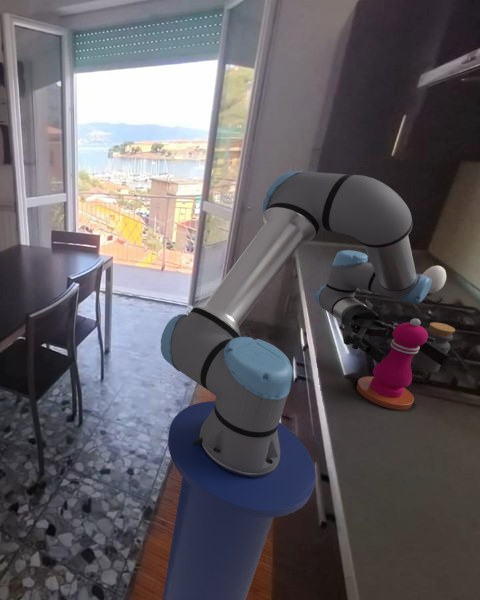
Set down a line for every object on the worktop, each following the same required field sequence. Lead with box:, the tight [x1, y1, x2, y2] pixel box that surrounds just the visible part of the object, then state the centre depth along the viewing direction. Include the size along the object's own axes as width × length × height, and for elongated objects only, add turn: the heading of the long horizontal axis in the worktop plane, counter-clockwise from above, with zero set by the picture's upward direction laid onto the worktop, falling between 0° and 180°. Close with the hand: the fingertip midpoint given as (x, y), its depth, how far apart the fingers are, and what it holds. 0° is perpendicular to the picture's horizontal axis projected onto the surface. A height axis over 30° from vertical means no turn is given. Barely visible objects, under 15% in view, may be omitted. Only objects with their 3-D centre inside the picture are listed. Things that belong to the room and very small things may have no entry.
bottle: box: [411, 321, 456, 373], centre depth 93 cm, size 6×6×15 cm
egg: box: [421, 265, 447, 295], centre depth 143 cm, size 7×7×12 cm
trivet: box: [356, 376, 415, 411], centre depth 89 cm, size 11×11×2 cm
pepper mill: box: [370, 318, 428, 398], centre depth 84 cm, size 7×7×20 cm
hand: (412, 359), depth 81 cm, fingers open, 13 cm apart
